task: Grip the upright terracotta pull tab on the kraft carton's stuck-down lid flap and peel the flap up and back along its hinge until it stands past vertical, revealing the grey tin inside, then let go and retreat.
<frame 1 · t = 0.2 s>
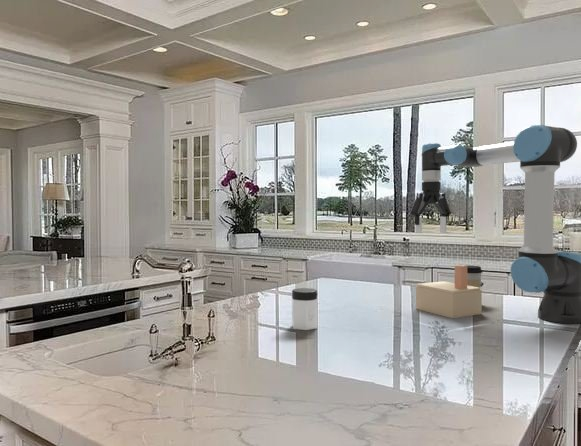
hand: (431, 232, 204), 28 cm above the counter, fingers open, 13 cm apart
jar: (304, 327, 158), on the counter
carton: (447, 312, 178), on the counter
lid flap: (447, 275, 178), point 13 cm above the counter, hinge at 0.0°
tin: (445, 310, 179), point 1 cm above the counter, touching carton
coffee cup: (469, 304, 193), on the counter
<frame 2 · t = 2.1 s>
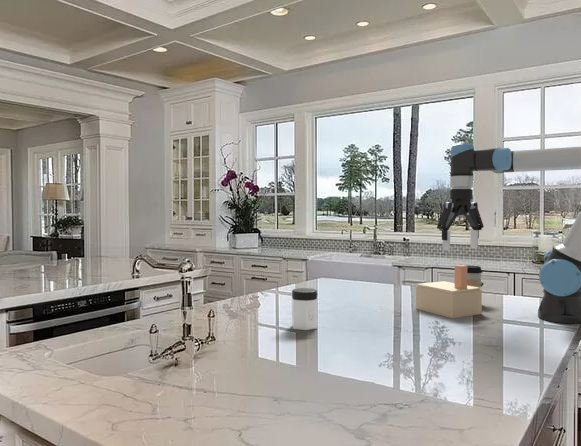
hand: (460, 249, 172), 24 cm above the counter, fingers open, 13 cm apart
nothing on the counter moved.
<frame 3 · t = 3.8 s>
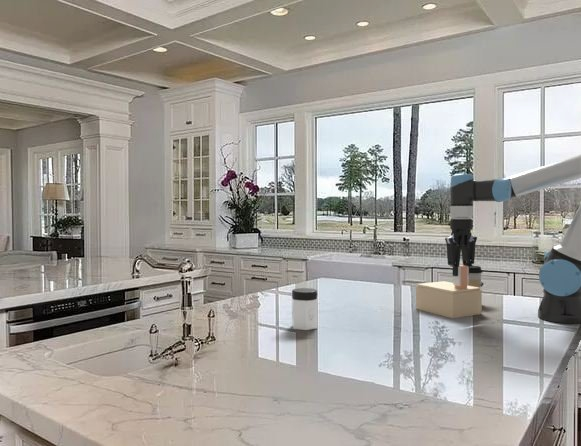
hand: (460, 284, 173), 11 cm above the counter, fingers closed on lid flap, 3 cm apart
lid flap: (447, 275, 178), point 13 cm above the counter, hinge at 0.0°, touching gripper
everything else where it was.
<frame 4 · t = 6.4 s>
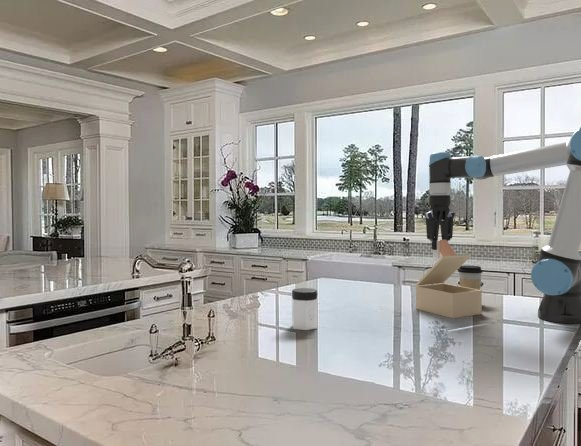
hand: (439, 258, 181), 20 cm above the counter, fingers closed on lid flap, 3 cm apart
lid flap: (437, 261, 182), point 18 cm above the counter, hinge at 41.1°, touching gripper
everything else where it was.
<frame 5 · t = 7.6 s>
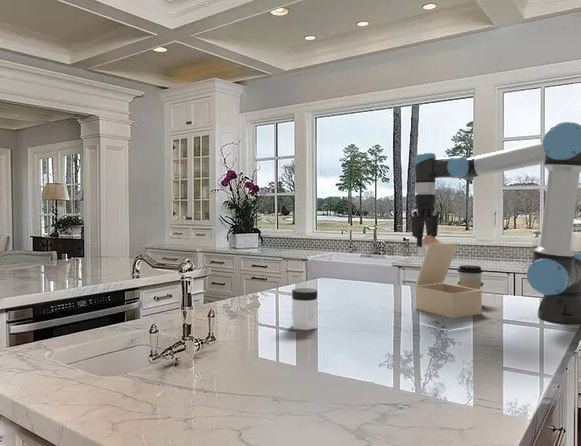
hand: (424, 255, 188), 20 cm above the counter, fingers closed on lid flap, 3 cm apart
lid flap: (429, 258, 186), point 19 cm above the counter, hinge at 65.3°, touching gripper
everything else where it was.
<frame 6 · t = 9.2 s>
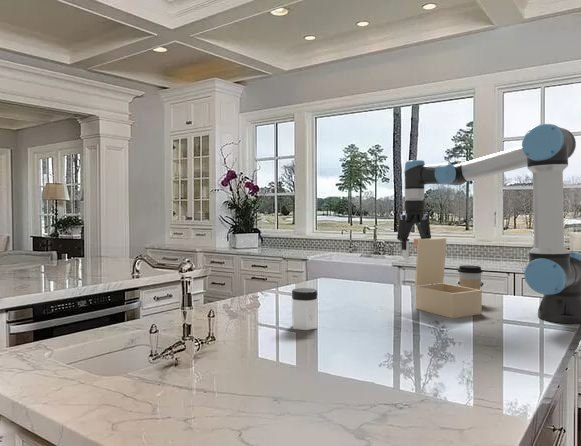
hand: (414, 257, 193), 19 cm above the counter, fingers open, 8 cm apart
lid flap: (423, 259, 189), point 18 cm above the counter, hinge at 85.1°
everything else where it was.
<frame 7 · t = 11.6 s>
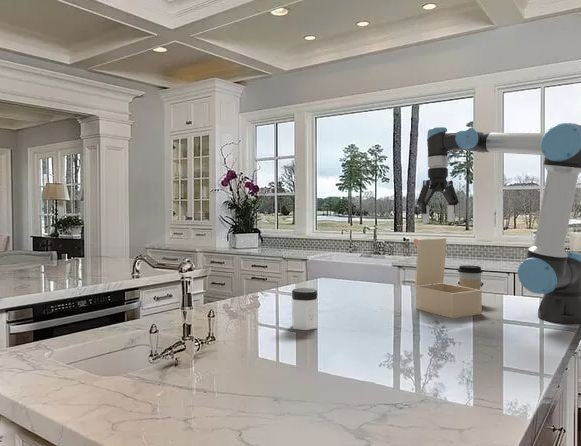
hand: (438, 222, 192), 32 cm above the counter, fingers open, 13 cm apart
nothing on the counter moved.
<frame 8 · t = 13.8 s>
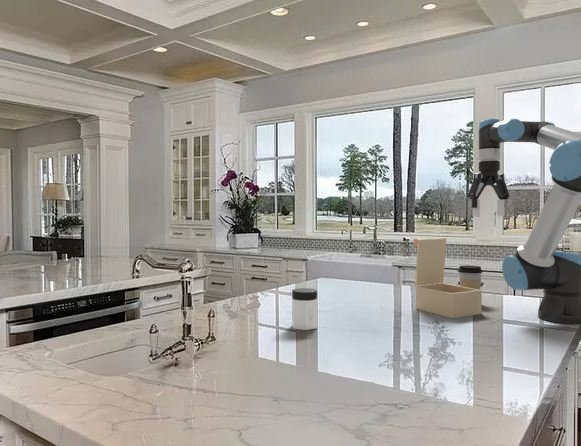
hand: (488, 216, 187), 35 cm above the counter, fingers open, 13 cm apart
nothing on the counter moved.
at the end: lid flap at +85° (first picture: +0°); the gripper is holding nothing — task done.
